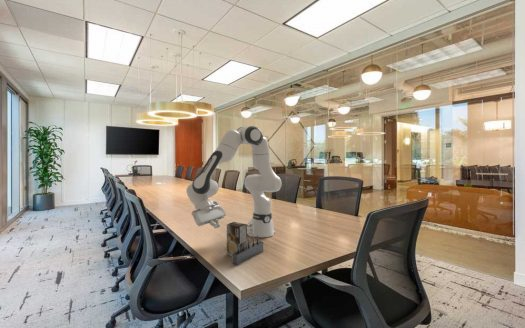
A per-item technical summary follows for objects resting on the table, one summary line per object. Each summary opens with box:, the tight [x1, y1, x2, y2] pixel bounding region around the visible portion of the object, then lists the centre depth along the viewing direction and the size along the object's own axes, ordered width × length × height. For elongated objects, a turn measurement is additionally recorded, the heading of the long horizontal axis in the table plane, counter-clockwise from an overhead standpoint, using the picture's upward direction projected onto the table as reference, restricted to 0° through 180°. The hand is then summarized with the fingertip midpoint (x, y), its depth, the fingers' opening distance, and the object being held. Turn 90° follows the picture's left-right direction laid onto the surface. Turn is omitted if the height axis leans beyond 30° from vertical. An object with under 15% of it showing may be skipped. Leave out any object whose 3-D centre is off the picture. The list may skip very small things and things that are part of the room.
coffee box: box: [226, 221, 248, 257], centre depth 133 cm, size 9×6×16 cm
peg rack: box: [231, 235, 264, 266], centre depth 130 cm, size 3×22×9 cm, turn 146°
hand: (217, 227), depth 143 cm, fingers closed
